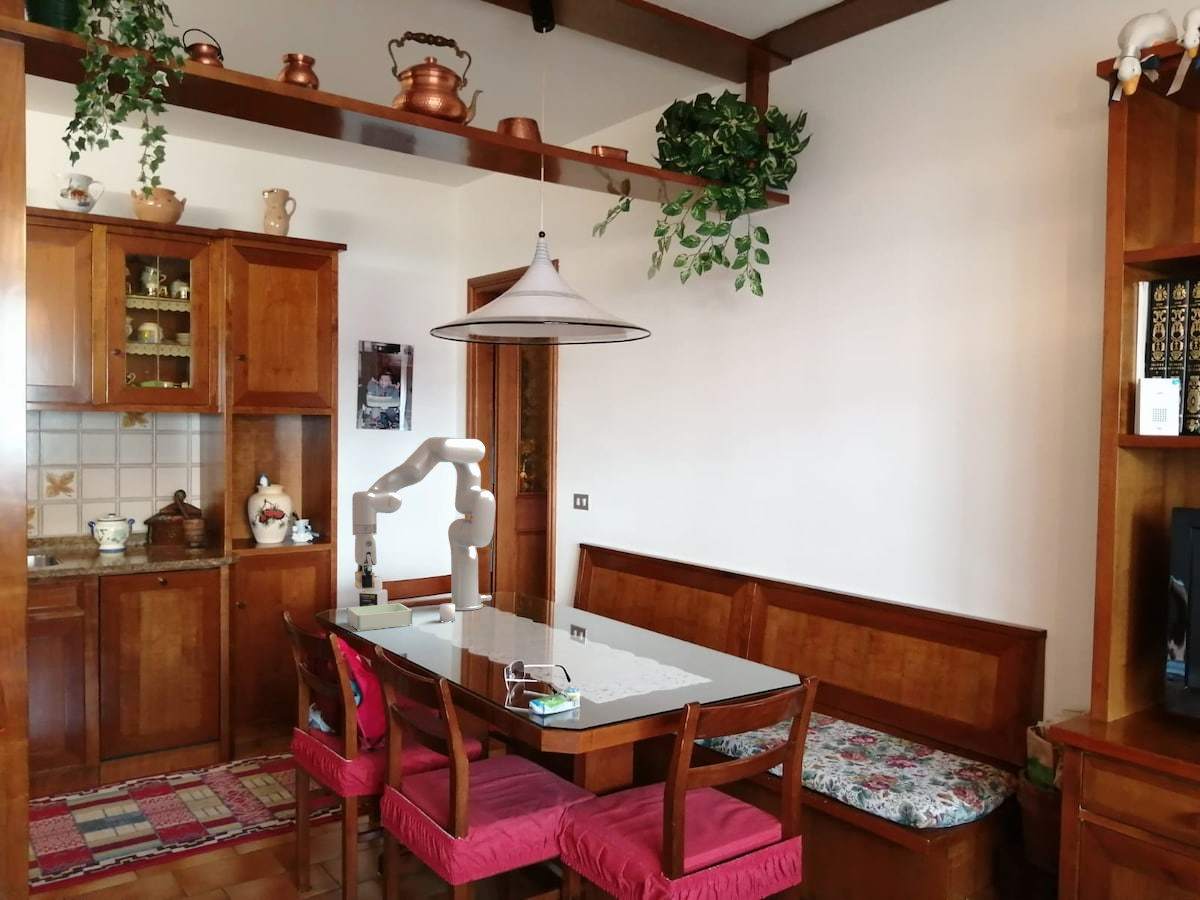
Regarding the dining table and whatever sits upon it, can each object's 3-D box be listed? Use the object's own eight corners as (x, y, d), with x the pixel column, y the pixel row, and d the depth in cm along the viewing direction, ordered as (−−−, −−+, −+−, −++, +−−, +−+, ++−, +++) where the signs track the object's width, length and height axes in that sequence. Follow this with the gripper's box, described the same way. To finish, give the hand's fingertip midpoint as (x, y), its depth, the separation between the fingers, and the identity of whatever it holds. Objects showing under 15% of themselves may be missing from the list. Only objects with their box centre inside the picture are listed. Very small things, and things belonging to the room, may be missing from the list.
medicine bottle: (359, 612, 319) (358, 578, 319) (370, 608, 326) (369, 575, 326) (377, 613, 317) (377, 579, 317) (388, 609, 324) (387, 575, 323)
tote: (399, 617, 310) (399, 603, 310) (412, 625, 297) (412, 610, 297) (347, 623, 301) (347, 608, 301) (358, 631, 289) (357, 615, 289)
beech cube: (370, 585, 300) (370, 570, 300) (374, 588, 296) (374, 572, 296) (355, 586, 298) (355, 571, 298) (358, 589, 293) (358, 573, 293)
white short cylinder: (452, 619, 307) (452, 602, 307) (457, 621, 303) (457, 605, 303) (437, 620, 305) (437, 604, 305) (442, 623, 300) (442, 606, 300)
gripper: (383, 531, 291) (383, 589, 291) (369, 527, 306) (369, 581, 306) (359, 533, 287) (359, 591, 287) (346, 528, 302) (346, 583, 302)
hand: (364, 585), depth 297 cm, fingers closed on beech cube, 5 cm apart
